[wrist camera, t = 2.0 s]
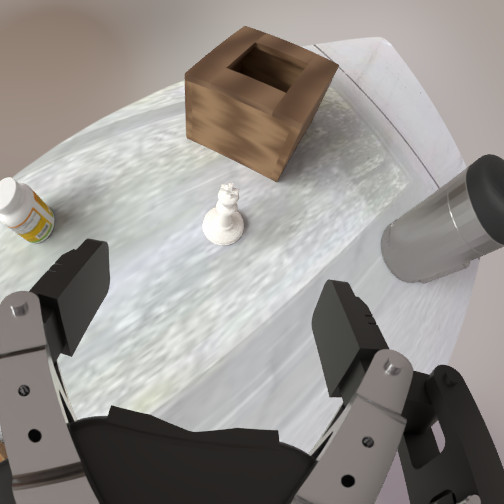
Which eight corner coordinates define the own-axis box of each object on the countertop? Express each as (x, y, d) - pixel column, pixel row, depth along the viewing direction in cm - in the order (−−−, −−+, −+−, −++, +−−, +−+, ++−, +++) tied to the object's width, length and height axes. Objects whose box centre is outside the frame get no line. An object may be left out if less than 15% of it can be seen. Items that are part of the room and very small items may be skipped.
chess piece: (236, 251, 35) (248, 217, 26) (197, 237, 35) (195, 199, 26) (248, 214, 37) (263, 172, 28) (210, 202, 37) (214, 156, 27)
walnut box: (312, 119, 44) (339, 65, 32) (276, 182, 39) (303, 124, 28) (234, 83, 44) (244, 25, 32) (186, 137, 39) (184, 73, 28)
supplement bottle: (27, 208, 33) (-8, 175, 23) (58, 204, 33) (25, 167, 24) (22, 245, 31) (-18, 218, 22) (53, 243, 32) (15, 213, 23)
